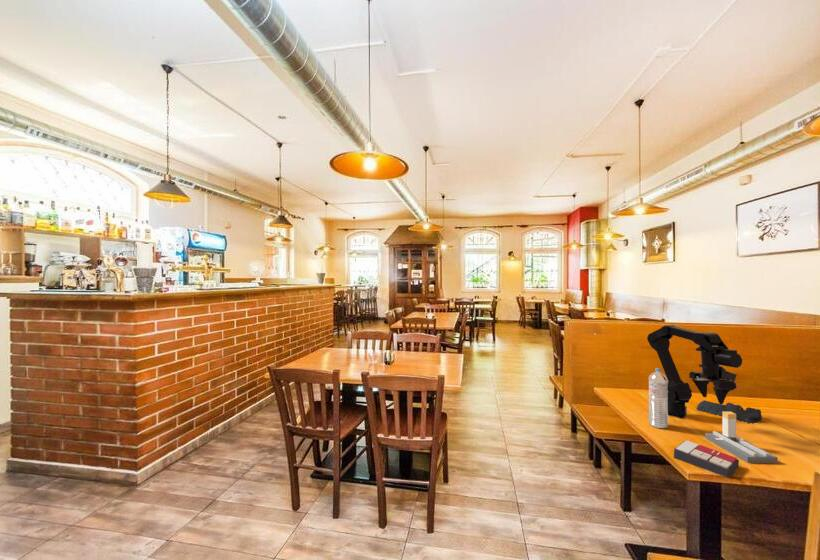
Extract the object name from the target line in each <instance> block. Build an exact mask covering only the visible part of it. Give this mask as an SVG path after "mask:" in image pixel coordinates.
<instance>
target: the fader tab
mask: <svg viewBox="0 0 820 560" xmlns="http://www.w3.org/2000/svg"><path fill="white" fill-rule="evenodd" d="M721 418H722V421H721V424H722V425H721V426H722V427H721V428H722V430H721V431H722V433H723V436H725V437H727V438H729V439H731V440H736V436H737V420H736V414H735V413H733V412H722V417H721Z"/></svg>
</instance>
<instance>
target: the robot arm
mask: <svg viewBox="0 0 820 560" xmlns="http://www.w3.org/2000/svg"><path fill="white" fill-rule="evenodd" d="M673 337H678V338H682V339H685V340H688V341H691V342H693V344H695V345H698V347H697V348H695V351H696V352H700V356H701V357H700V359H701V361H700V363H699V364H698V367H699V368H701V371H691V372H689V375H688V377H689V378H690V379H691V381H692V382H693V384H694V385H695V387H696V388H697V389H698V391H699V392H700V394H701V396H702V398H707V395H708V384H710V383H712V385H713V387H712V389H713V391H714V394H715V396H716V398H717V402H718V404H722V405H724V402H725V400H726V398H727V395H728V393H729V392H731V391H734V390H737V389H738V384H737V383H736V379H737V374H736V373H733V372H730V371H726V368H724V367H723V366H725V367H730V368H734V369H736V368H737V369H738V368H740V367H741V366H742V364H743V358H742V356H741V355H740V354H739V353H738V351H737V349H729V347H728V346H727V345H726V344H725V342H724V341H723V339H722V338H721V336H720V335H719V334H718V333H717V332H704V331H703V332H701V331H696V330H691V329H687V328H684V327H683V328H682V327H679V326H675V325H674V324H673V325H671V324H668V325H667V324H666V325H664V326H662V327H660V328H659V329H657V330H655V331H652V332H649V334H648V335H647V337H646V338H647V342H648V344H649V345H650V348H652V349H653V350H654V351H655V352H656V353H657V357H658V359H659V360H660V364H661V366H662V369H663V371H664V373H665V374H664V375H665V376H666V378H667V379H668V416H671V417H676V418H680V419H684V418H685V417H687V415H688V413H687V412H688V406H687V405H686V404H688V403H689V402H690V400H691V398H692V397H693V391H692V389H691V387H690V384H689V383H688V382H684V381H683V380H682V378H681V376H680V374H679V372H678V368H677V367H676V364H675V362H674V359H673V356H672V355H671V352H670V345H671V342H670V340H672V338H673Z"/></svg>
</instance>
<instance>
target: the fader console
mask: <svg viewBox="0 0 820 560" xmlns="http://www.w3.org/2000/svg"><path fill="white" fill-rule="evenodd" d="M704 435H705V436H704V438H705V439H706V440H707V441H709V442H712V443H713V444H715V445H716V446H718V447H720V448H721V449H723V450H725V451H727V452H728V453H731V454H732V455H734V457H736V458H739V459H741V460H743V461H744V462H746V463H748V464H749V463H752V464H753V463H754V464H755V463H756V464H769V463H770V464H779V463H778V462H779V461H778V460H779V458H778V456H776V455H774V454H772V453H770V452H768V451H766V450H764V449H762V448H761V447H758V446H756V445H755V444H752V442H749V441H747V440H745V439H743V438H741V437H739V436H737V435H736V440H731V439H729V438H727V437H725V436H723V432H721V433H719V432H717V431H715V430H714V431H712V432H707V433H706V432H705V434H704Z"/></svg>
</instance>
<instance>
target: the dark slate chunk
mask: <svg viewBox="0 0 820 560" xmlns="http://www.w3.org/2000/svg"><path fill="white" fill-rule="evenodd" d="M696 410H697V412H701V411H702V412H701V413H705V412H706V414H709V413H710V415H713V414H714V415H713V416H717V415H719V416H718V417H721V416H722V412H733V413H735V414H736V421H737V420H739V422H742V421H743V423H745V422H748V423H747V424H750V423H752V424H754V423H757V422H758V423H759V422H761V421H762V419H763V418H762V411H761V409H760V408H753V407H750V406H749V407H746V409H744V408H743V406H741V405H740V404H734V403H731V402H726V404H719V402H718V403H717V402H714V401H713V402H712V401H709V400H705V399H703V400H702V401H700V402H699V403H698V404H697V406H696ZM758 423H757V424H758Z"/></svg>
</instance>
